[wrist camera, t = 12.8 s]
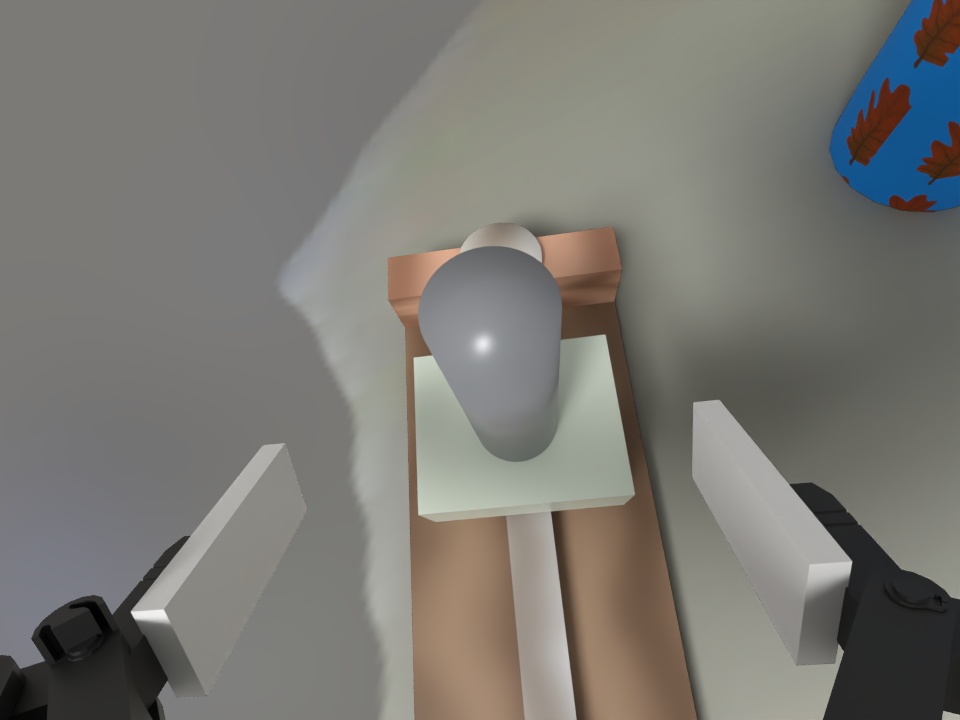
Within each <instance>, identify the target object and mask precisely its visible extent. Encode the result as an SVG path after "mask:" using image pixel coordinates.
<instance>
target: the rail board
mask: <svg viewBox="0 0 960 720" xmlns="http://www.w3.org/2000/svg"><path fill="white" fill-rule="evenodd" d="M486 246H503V247H510V248H513V249H517V250H520V251H523V252H525V253H527V254H529V255H531V256H533V257H534V258H536V259H537V260H538V261H540V262H541V263H542V264H543V265H544V266H545V267H546V268H547V269H548V270H549V271H550V273H551V274H552V275H553V277H554V279H555V281H556V283H557V285H558V288H559V290H560V295H561V301H562V317H561V340H564V339H572V338H581V337H589V336H597V335H606V340H607V345H608V351H609V356H610V361H611V367H612V372H613V377H614V383H615V388H616V394H617V399H618V404H619V410H620V415H621V421H622V426H623V431H624V437H625V442H626V448H627V453H628V458H629V464H630V469H631V475H632V480H633V485H634V491H635V495H634V496H633V497H632V498H631V499H630V500H629V501H628V502H626V503H625V504H624V505H616V506H605V507H594V508H583V509H572V510H561V511H551V512H540V513H529V514H518V515H507V516H496V517H485V518H474V519H464V520H453V521H442V522H434V521H432V520H429V519H427V518H424V517H422V516H420V515H418V489H417V456H416V422H415V389H414V358H415V357H423V356H432V353H431V352H430V350H429V348H428V346H427V344H426V343H425V341H424V338H423V336H422V334H421V331H420V327H419V320H418V307H419V302H420V298H421V295H422V292H423V290H424V288H425V286H426V284H427V282H428V281H429V279H430V278H431V276H432V275H433V274H434V273H435V271H436V270H437V269H438V268H439V267H441V266H442V265H443V264H444V263H445V262H447V261H448V260H449V259H451V258H453V257H454V256H456V255H458V254H460V253H463V252H465V251H468V250H471V249H474V248H479V247H486ZM621 271H622V267H621V262H620V257H619V252H618V248H617V243H616V238H615V233H614V229H613V227H607V228H600V229H593V230H585V231H578V232H571V233H564V234H557V235H549V236H542V237H534V235H533V234H532V233H531V232H529V231H528V230H527V229H525V228H523V227H521V226H518V225H515V224H511V223H495V224H490V225H487V226H484V227H482V228H480V229H478V230H476V231H475V232H474V233H472V234H471V235H470V236H469V237H468V238H467V239H466V241H465V242H464V244H463V245H462V247H461V248H455V249H448V250H441V251H434V252H427V253H419V254H412V255H405V256H398V257H391V258H388V300H389V302H390V303H391V305H392V307H393V308H394V310H395V312H396V313H397V315H398V317H399V318H400V320H401V322H402V323H403V325H404V327H405V337H406V379H407V421H408V463H409V505H410V547H411V589H412V631H413V673H414V715H415V720H697V717H696V712H695V707H694V702H693V697H692V691H691V686H690V681H689V676H688V671H687V666H686V661H685V656H684V651H683V646H682V641H681V636H680V631H679V626H678V621H677V616H676V611H675V606H674V600H673V595H672V590H671V585H670V580H669V575H668V570H667V565H666V560H665V555H664V550H663V545H662V540H661V535H660V530H659V525H658V520H657V515H656V509H655V504H654V499H653V494H652V489H651V484H650V479H649V474H648V469H647V464H646V459H645V454H644V449H643V444H642V439H641V434H640V429H639V424H638V418H637V413H636V408H635V403H634V398H633V393H632V388H631V383H630V378H629V373H628V368H627V363H626V358H625V353H624V348H623V343H622V338H621V333H620V328H619V322H618V317H617V312H616V307H615V302H614V301H615V297H616V292H617V288H618V284H619V280H620V275H621Z"/></svg>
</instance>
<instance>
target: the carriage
mask: <svg viewBox="0 0 960 720" xmlns="http://www.w3.org/2000/svg"><path fill="white" fill-rule="evenodd" d="M561 317H562V301H561V295H560V290H559V288H558V285H557V283H556V281H555V279H554V277H553V275H552V274H551V273H550V271H549V270H548V269H547V268H546V267H545V266H544V265H543V264H542V263H541V262H540V261H538V260H537V259H536V258H534V257H533V256H531V255H529V254H527V253H525V252H523V251H520V250H517V249H513V248H510V247H503V246H486V247H479V248H474V249H471V250H468V251H465V252H463V253H460V254H458V255H456V256H454V257H453V258H451V259H449V260H448V261H447V262H445V263H444V264H443V265H442V266H441V267H439V268H438V269H437V270H436V271H435V273H434V274H433V275H432V276H431V278H430V279H429V281H428V282H427V284H426V286H425V288H424V290H423V292H422V295H421V298H420V302H419V307H418V320H419V327H420V331H421V334H422V336H423V338H424V341H425V343H426V344H427V346H428V348H429V350H430V352H431V353H432V356H423V357H415V358H414V389H415V422H416V456H417V489H418V515H420V516H422V517H424V518H427V519H429V520H432V521H434V522H442V521H453V520H464V519H474V518H485V517H496V516H507V515H518V514H529V513H540V512H551V511H561V510H572V509H583V508H594V507H605V506H616V505H624V504H625V503H626V502H628V501H629V500H630V499H631V498H632V497H633V496H634V495H635V491H634V485H633V480H632V475H631V469H630V464H629V458H628V453H627V448H626V442H625V437H624V431H623V426H622V421H621V415H620V410H619V404H618V399H617V394H616V388H615V383H614V377H613V372H612V367H611V361H610V356H609V351H608V345H607V340H606V335H597V336H589V337H581V338H572V339H564V340H561Z"/></svg>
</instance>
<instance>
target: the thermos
mask: <svg viewBox="0 0 960 720" xmlns="http://www.w3.org/2000/svg"><path fill="white" fill-rule="evenodd" d="M830 153H831V156H832V159H833V162H834V165H835V168H836V170H837V171H838V172H839V173H840V175H841V176H842V177H843V178H844V179H845V180H846V182H847V183H848V184H849V185H850V186H851V187H852V188H853V189H855V190H857V191H858V192H860V193H861V194H863V195H865V196H866V197H868V198H869V199H871V200H872V201H874V202H877V203H880V204H884V205H887V206H890V207H893V208H896V209H899V210H905V211H922V212H934V211H939V210H944V209H948V208H953V207H958V206H960V0H912V1H911V3H910V5H909V6H908V8H907V9H906V11H905V12H904V14H903V16H902V17H901V19H900V20H899V22H898V23H897V25H896V27H895V28H894V30H893V31H892V33H891V34H890V36H889V38H888V39H887V41H886V42H885V44H884V46H883V47H882V49H881V50H880V52H879V53H878V55H877V57H876V58H875V60H874V61H873V63H872V64H871V66H870V68H869V69H868V71H867V72H866V74H865V75H864V77H863V79H862V80H861V82H860V83H859V85H858V87H857V88H856V90H855V92H854V94H853V96H852V97H851V99H850V101H849V103H848V105H847V106H846V108H845V110H844V112H843V114H842V115H841V117H840V119H839V121H838V123H837V124H836V126H835V128H834V130H833V133H832V138H831V144H830Z"/></svg>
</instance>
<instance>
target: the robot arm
mask: <svg viewBox="0 0 960 720" xmlns="http://www.w3.org/2000/svg"><path fill="white" fill-rule="evenodd" d="M692 478H693V480H694V481H695V483H696V485H697V487H698V489H699V490H700V492H701V494H702V496H703V498H704V499H705V501H706V503H707V505H708V507H709V509H710V510H711V512H712V514H713V516H714V518H715V519H716V521H717V523H718V525H719V527H720V528H721V530H722V532H723V534H724V536H725V537H726V539H727V541H728V543H729V545H730V546H731V548H732V550H733V552H734V554H735V556H736V557H737V559H738V561H739V563H740V565H741V566H742V568H743V570H744V572H745V574H746V575H747V577H748V579H749V581H750V583H751V584H752V586H753V588H754V590H755V592H756V593H757V595H758V597H759V599H760V601H761V602H762V604H763V606H764V608H765V610H766V612H767V613H768V615H769V617H770V619H771V621H772V622H773V624H774V626H775V628H776V630H777V631H778V633H779V635H780V637H781V639H782V640H783V642H784V644H785V646H786V648H787V649H788V651H789V653H790V655H791V657H792V658H793V660H794V662H795V664H796V665H815V664H834V663H835V660H836V654H837V649H838V643H839V644H840V646H841V647H842V649H843V650H844V654H843V657H842V660H841V663H840V667H839V670H838V673H837V676H836V679H835V683H834V686H833V689H832V692H831V695H830V699H829V702H828V705H827V708H826V711H825V715H824V718H823V720H942V714H943V711H947V712H951V713H955V714H959V715H960V599H955V598H951V597H950V596H949V595H948V594H947V592H946V591H945V590H944V589H942V588H941V587H940V586H938V585H937V584H935V583H934V582H933V581H931V580H929V579H927V578H925V577H923V576H921V575H918V574H916V573H913V572H909V571H905V570H901V569H900V568H899V567H898V565H897V564H896V563H895V562H894V561H893V560H892V559H891V558H890V557H889V556H888V555H887V554H886V552H885V551H884V550H883V549H882V548H881V547H880V546H879V545H878V544H877V543H876V542H875V540H874V539H873V538H872V537H871V536H870V535H869V534H868V533H867V532H866V531H865V530H864V529H863V527H862V526H861V525H858V523H857V521H856V520H855V519H854V518H853V517H852V516H851V514H850V513H847V512H846V509H845V508H844V507H843V506H842V505H841V504H840V503H839V501H838V500H837V499H836V498H835V497H834V496H833V495H832V494H830V493H829V492H827V491H825V490H823V489H822V488H820V487H818V486H817V485H815V484H813V483H800V484H788V483H787V481H786V480H785V479H784V478H783V477H782V475H781V474H780V473H779V472H778V471H777V469H776V468H775V467H774V466H773V464H772V463H771V462H770V461H769V460H768V458H767V457H766V456H765V455H764V454H763V452H762V451H761V450H760V449H759V447H758V446H757V445H756V444H755V443H754V441H753V440H752V439H751V438H750V437H749V435H748V434H747V433H746V432H745V430H744V429H743V428H742V427H741V426H740V424H739V423H738V422H737V421H736V420H735V418H734V417H733V416H732V415H731V413H730V412H729V411H728V410H727V409H726V407H725V406H724V405H723V404H722V403H721V401H720V400H712V401H702V402H693V452H692ZM306 512H307V508H306V505H305V502H304V499H303V496H302V493H301V490H300V487H299V484H298V481H297V478H296V475H295V472H294V469H293V466H292V463H291V460H290V457H289V454H288V451H287V447H286V444H285V443H282V444H272V445H263V446H262V447H261V449H260V450H259V451H258V452H257V454H256V455H255V456H254V457H253V459H252V460H251V461H250V463H249V464H248V465H247V466H246V468H245V469H244V470H243V471H242V473H241V474H240V475H239V476H238V478H237V479H236V480H235V481H234V483H233V484H232V485H231V486H230V488H229V489H228V490H227V491H226V493H225V494H224V495H223V496H222V498H221V499H220V500H219V501H218V503H217V504H216V505H215V507H214V508H213V509H212V510H211V511H210V513H209V514H208V515H207V516H206V518H205V519H204V520H203V521H202V523H201V524H200V525H199V526H198V528H197V529H196V530H195V532H194V533H193V534H192V535H191V536H184V537H183V538H181V539H180V540H179V541H177V542H176V543H175V544H173V545H172V546H171V547H170V548H168V549H167V550H166V551H165V552H164V553H163V555H162V556H161V557H160V558H159V559H158V561H157V562H156V563H155V564H154V567H153V568H151V569H150V570H149V571H148V573H147V574H146V575H145V576H144V577H143V581H140V582H139V583H138V585H137V586H136V587H135V588H134V589H133V591H132V592H131V593H130V594H129V596H128V597H127V598H126V599H125V600H124V601H123V603H122V604H121V605H120V606H119V608H118V609H117V610H116V611H115V613H114V614H113V615H112V614H111V612H110V611H109V609H108V607H107V605H106V603H105V602H104V600H103V598H102V597H99V596H95V595H92V596H86V597H81V598H79V599H76V600H74V601H71V602H69V603H67V604H65V605H64V606H62V607H60V608H58V609H57V610H55V611H54V612H53V613H51V614H50V615H49V616H48V617H46V618H45V619H44V620H43V621H42V622H41V623H40V625H39V626H38V627H37V628H36V629H35V631H34V634H33V636H32V638H31V639H32V641H33V642H34V644H35V645H36V647H37V648H38V650H39V651H40V653H41V655H42V656H43V658H44V659H45V661H44V662H41V663H38V664H34V665H32V666H29V667H25V668H22V669H20V668H19V667H18V665H17V664H16V662H15V661H14V660H13V658H11V656H4V655H1V656H0V720H165V715H164V710H163V706H162V704H161V702H160V700H159V699H158V697H157V696H158V695H159V693H160V691H161V690H162V688H163V687H164V685H165V683H166V682H167V681H168V682H169V684H170V686H171V688H172V690H173V692H174V694H175V696H176V697H177V698H180V697H199V696H208V694H209V692H210V690H211V688H212V686H213V685H214V683H215V681H216V679H217V677H218V675H219V673H220V672H221V670H222V668H223V666H224V664H225V662H226V660H227V659H228V657H229V655H230V653H231V651H232V649H233V647H234V646H235V644H236V642H237V640H238V638H239V636H240V634H241V633H242V630H243V629H244V627H245V625H246V623H247V621H248V619H249V618H250V616H251V614H252V612H253V610H254V608H255V606H256V605H257V603H258V601H259V599H260V597H261V595H262V593H263V592H264V590H265V588H266V586H267V584H268V582H269V580H270V579H271V577H272V575H273V573H274V571H275V569H276V567H277V566H278V564H279V562H280V560H281V558H282V556H283V554H284V553H285V551H286V549H287V547H288V545H289V543H290V541H291V540H292V537H293V536H294V534H295V532H296V530H297V528H298V526H299V524H300V523H301V521H302V519H303V517H304V515H305V513H306Z"/></svg>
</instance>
